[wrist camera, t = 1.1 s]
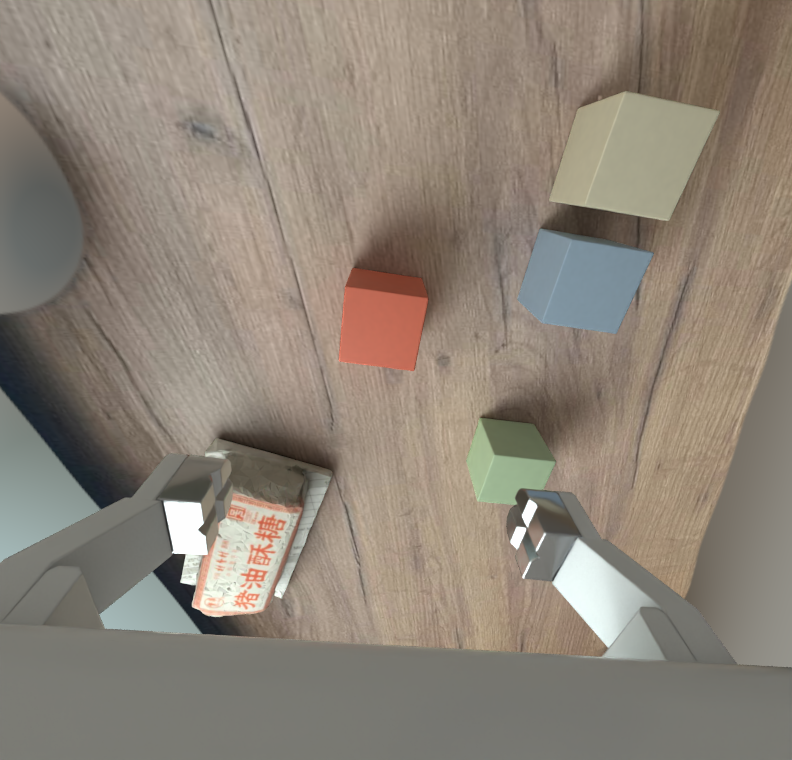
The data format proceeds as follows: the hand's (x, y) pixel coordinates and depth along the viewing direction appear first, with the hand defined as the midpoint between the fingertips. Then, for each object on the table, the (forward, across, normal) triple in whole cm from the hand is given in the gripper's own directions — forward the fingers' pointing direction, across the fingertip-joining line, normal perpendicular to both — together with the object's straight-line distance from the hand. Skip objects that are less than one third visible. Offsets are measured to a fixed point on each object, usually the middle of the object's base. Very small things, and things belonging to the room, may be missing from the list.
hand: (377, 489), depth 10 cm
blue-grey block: (+16, -11, -4) cm, 20 cm away
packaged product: (+16, +9, +22) cm, 29 cm away
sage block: (+16, -11, +10) cm, 22 cm away
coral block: (+16, 0, 0) cm, 16 cm away
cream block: (+16, -11, -10) cm, 22 cm away
